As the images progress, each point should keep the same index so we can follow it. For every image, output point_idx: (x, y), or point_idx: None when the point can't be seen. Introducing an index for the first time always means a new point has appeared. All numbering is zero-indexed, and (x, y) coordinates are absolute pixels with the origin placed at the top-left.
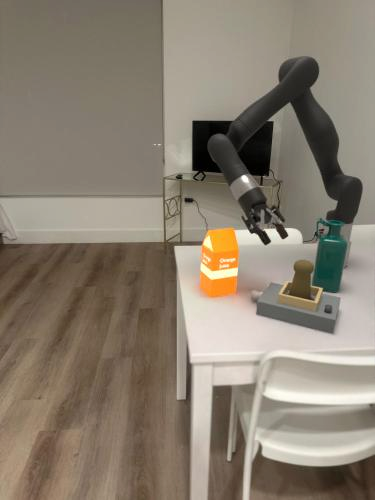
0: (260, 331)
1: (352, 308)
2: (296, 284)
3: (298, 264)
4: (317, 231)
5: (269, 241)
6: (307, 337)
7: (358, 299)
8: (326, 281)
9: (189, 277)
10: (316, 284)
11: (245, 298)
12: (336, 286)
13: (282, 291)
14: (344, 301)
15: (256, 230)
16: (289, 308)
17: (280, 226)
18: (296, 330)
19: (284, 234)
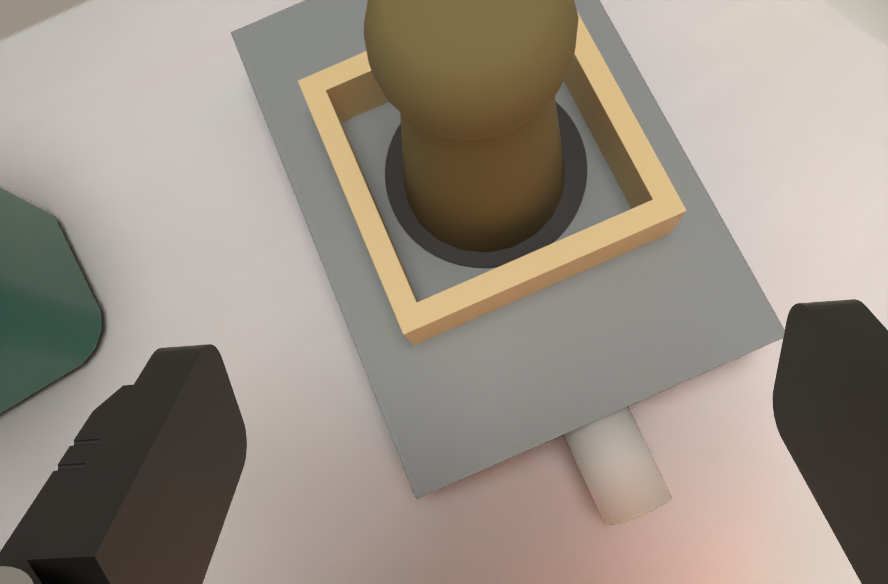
0: (878, 197)
1: (181, 48)
2: (555, 111)
3: (562, 9)
4: None
5: (855, 303)
6: (684, 15)
7: (39, 85)
8: (35, 245)
9: None
10: (81, 313)
11: (641, 563)
12: (22, 197)
13: (615, 221)
14: (128, 119)
15: None
16: (663, 131)
17: (117, 558)
18: (677, 87)
19: (205, 407)
